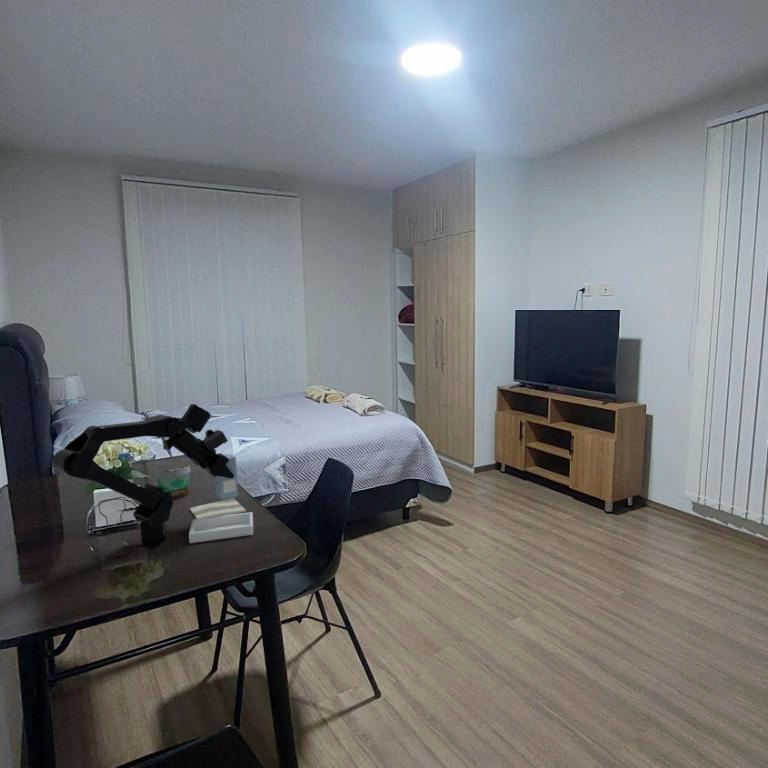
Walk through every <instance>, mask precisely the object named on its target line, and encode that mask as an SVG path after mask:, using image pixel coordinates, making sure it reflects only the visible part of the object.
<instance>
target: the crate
mask: <svg viewBox="0 0 768 768" xmlns="http://www.w3.org/2000/svg"><path fill="white" fill-rule="evenodd" d="M253 535H254V514H253V511H251V512H247V513H241V514H233V515H225V516H217V517H209V518H201V519H196V518H195V519H194V518H193V519H192V522H191V526H190V528H189V533H188V541H189V544H194V543H200V542H201V543H202V542H210V541H216V540H225V539H232V538H240V537H245V536H246V537H247V536H253Z"/></svg>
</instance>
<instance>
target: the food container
mask: <svg viewBox="0 0 768 768" xmlns="http://www.w3.org/2000/svg"><path fill="white" fill-rule="evenodd" d="M191 471H192V469H191V466H190V465H189V463H185V465H184V466H181V467H174V468H170V469H168V470H165V471H163V472H162V471H155V474H154V478H155V479H156V480H157V487H159V488H161V489H162V490H164V491H168V492H170V493H169V494H168V495H170V496H171V497H172V498H173V501H175V500H179V499H183V498H186V497H187V496H188V495H189V493H190V492H189V491H190V487H189V486H190V473H191Z"/></svg>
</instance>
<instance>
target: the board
mask: <svg viewBox="0 0 768 768" xmlns="http://www.w3.org/2000/svg"><path fill="white" fill-rule="evenodd" d="M189 511H191V514H192V515H193V516H194V517H195V519H201V518H209V517H217V516H225V515H233V514H241V513H248V511H247V510H246V508H244V506H243V505H242V504H240V502H239V501H237V500H236V499H235V498H234V497H231V498H227V499H223V500H219V501H214V502H210V503H206V504H201V505H196V506H191V507H189Z"/></svg>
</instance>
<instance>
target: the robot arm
mask: <svg viewBox="0 0 768 768" xmlns="http://www.w3.org/2000/svg"><path fill="white" fill-rule="evenodd" d="M211 417H212V414H211V413H210V412H209V411H208V410H206V409H203V408H202V407H200V406H198V405H197V404H195V403H194V404H193V403H191V404H190V405H189V406H188V408H187V410H186V412H184V413H183V415H182V417H181V418H180V417H176V416H171V415H164V414H157V415H154V416H150V417H147V418H145V419H143V420H141V421H133V422H124V423H123V422H122V423H114V424H113V423H112V424H107V425H106V424H105V425H103V424H102V425H90V426H88V427H86V428H85V429H84V430H83V431H82V433H81V434H80V435H78V436H77V437H75V438H74V439H73V440H71V441H70V442H69V443H67V445H66V446H65V447H64V448H63V449H61V450H59V451H57V452H56V453H55V454H54V456H53V457H52V461H51V465H52V468H53V469H54V471H56V472H59V473H61V474H64V475H67V476H69V477H74V478H79V479H81V480H82V479H83V480H87V481H91V482H93V483H96V484H98V485H99V486H102V487H105V488H107V489H108V490H111V491H113V492H115V493H117V494H120V495H122V496H124V497H125V496H126V497H128V498H131V499H132V500H133V501H134V502H135V503H136V504H138V505H139V506H138V507H137V508H135V509H134V512H133V514H132V515H133V517H134V519H135V520H136V521H140V524H139V531H140V541H139V542H137V543H136V546H137V547H151V548H155V547H158V546H160V545H162V544H163V543H164V542H166V541H167V540H168V539H169V538H171V537H172V535H171V534H167V527H166V522H168V521H169V519H170V514H171V512H172V511H171V510H172V509H173V506H174V500H173V498H172V497H171V496H170V495H168V494H169V493H170V492H168V491H164V490H162V489H161V488H159V486H158V485H153V484H150V483H145V485H144V487H143V486H140V485H138V484H136V483H134V482H132V481H129V480H127V479H126V478H124V477H121V476H119V475H117V474H115V473H113V472H111V471H110V470H108V469H107V470H106V469H105V468H104V467H100V465H99V464H98V463H97V462H96V461H95V460H94V459H95V458H96V456H97V454H98V453H99V450H100V449H101V446H102V445H104V443H105V442H111V441H119V440H124V439H125V440H126V439H135V438H140V437H155V438H156V437H157V438H167V439H164V440H163V439H162V444H163V445H162V446H163V447H162V449H163V450H164V451H165V450H166V451H167V450H168V451H169V450H171V449H172V448H174V449H175V450H177V451H179V452H180V453H181V454H183V455H184V456H185V457H187V458H188V459H190V461H191V462H192V463H193V464H194V465H197V466H199V467H200V468H201V469H202V470H205V471H206V472H207V473H208V474H210V475H211V476H212V477H214V478H215V477H216V476H221V477H226V478H231V479H232V478H233V477H234V474H233V473H232V472H231V471H230V469H229V468H228V467H227V466H226V464H227V463H228V461H229V459H228V458H227V457H226V456H224V455H225V454H222V452H221V453H220V452H219V453H217V448H219V447H220V446H222V445H223V444H226V443H227V442H228V441H229V440H228V439H227V437H226V435H225V433H224V432H223V431H222V430H220V429H217V430H216V429H215V430H212V429H207V430H206V431H205V437H204V439H201V438H198V437H197V436H195V434H196V433H201V432H202V430H203V429H204V428H205V426H206V424H207V423H208V422H209V420H210V419H211Z"/></svg>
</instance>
